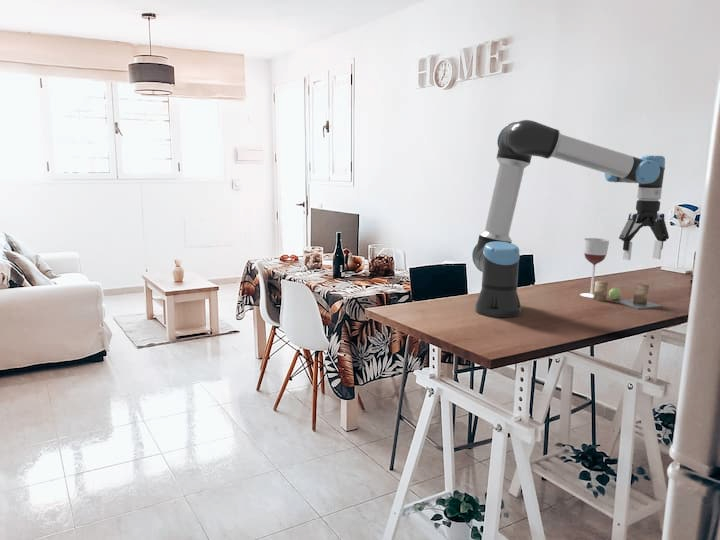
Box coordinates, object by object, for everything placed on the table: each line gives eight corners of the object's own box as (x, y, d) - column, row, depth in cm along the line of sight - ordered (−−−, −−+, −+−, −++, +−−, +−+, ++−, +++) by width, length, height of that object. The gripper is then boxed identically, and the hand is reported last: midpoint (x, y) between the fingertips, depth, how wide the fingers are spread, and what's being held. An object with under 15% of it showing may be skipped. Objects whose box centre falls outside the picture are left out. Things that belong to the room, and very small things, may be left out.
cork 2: (639, 304, 203) (642, 286, 202) (630, 301, 207) (633, 283, 206) (649, 304, 205) (651, 285, 204) (639, 301, 209) (642, 282, 208)
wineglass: (598, 293, 224) (604, 238, 220) (606, 298, 215) (612, 241, 211) (576, 292, 225) (581, 237, 221) (583, 297, 216) (588, 240, 212)
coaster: (637, 309, 199) (638, 307, 199) (614, 302, 210) (615, 300, 210) (662, 307, 203) (662, 305, 203) (638, 300, 213) (638, 298, 213)
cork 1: (599, 301, 210) (600, 283, 209) (590, 298, 214) (592, 281, 213) (608, 300, 212) (610, 282, 210) (600, 298, 216) (602, 280, 214)
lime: (614, 301, 211) (615, 289, 210) (605, 298, 215) (606, 286, 214) (623, 300, 212) (625, 288, 212) (614, 297, 217) (616, 286, 216)
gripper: (628, 200, 192) (621, 261, 196) (684, 200, 200) (677, 259, 203) (612, 199, 199) (606, 258, 203) (667, 199, 207) (660, 256, 210)
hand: (641, 259), depth 203 cm, fingers open, 13 cm apart
